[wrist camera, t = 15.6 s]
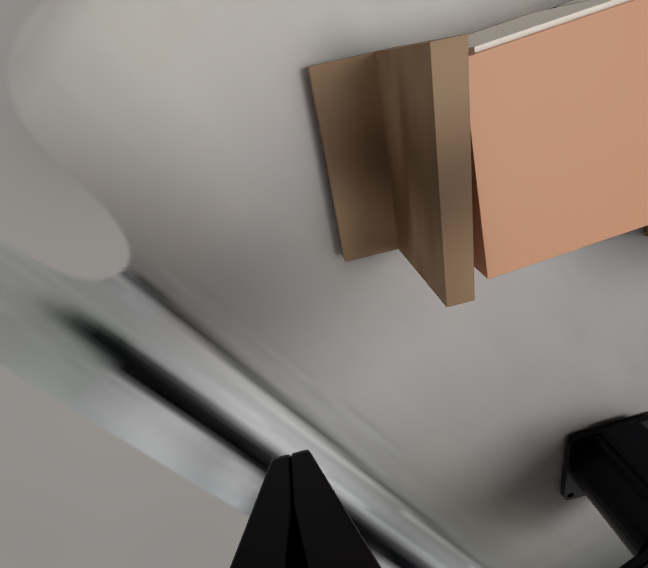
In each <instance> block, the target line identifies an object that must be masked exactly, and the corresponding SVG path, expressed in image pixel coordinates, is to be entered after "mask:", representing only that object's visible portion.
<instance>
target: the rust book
mask: <svg viewBox="0 0 648 568" xmlns="http://www.w3.org/2000/svg"><path fill="white" fill-rule="evenodd" d="M468 56H469V95H470V135H471V175H472V214H473V254H474V267H475V268H476V269H477V270H478V271H480V272H481V273H482V274H483V275H484V276H485V277H486V278H488V279H489V278H492V277H495V276H498V275H501V274H504V273H507V272H510V271H513V270H516V269H519V268H522V267H525V266H528V265H531V264H534V263H537V262H540V261H543V260H546V259H549V258H552V257H555V256H558V255H561V254H564V253H567V252H570V251H573V250H576V249H579V248H581V247H584V246H587V245H590V244H593V243H596V242H599V241H602V240H605V239H608V238H611V237H614V236H617V235H620V234H623V233H626V232H629V231H632V230H635V229H638V228H641V227H644V226H647V225H648V0H590V1H586V2H581V3H576V4H572V5H567V6H562V7H558V8H553V9H548V10H544V11H539V12H534V13H531V14H528V15H525V16H522V17H519V18H516V19H513V20H510V21H507V22H504V23H501V24H498V25H495V26H492V27H489V28H486V29H483V30H480V31H478V32H475V33H472V34H469V35H468Z"/></svg>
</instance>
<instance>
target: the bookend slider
mask: <svg viewBox="0 0 648 568" xmlns="http://www.w3.org/2000/svg"><path fill="white" fill-rule="evenodd" d="M307 69H308V75H309V80H310V85H311V90H312V96H313V101H314V106H315V111H316V117H317V122H318V127H319V132H320V138H321V143H322V148H323V154H324V159H325V164H326V169H327V175H328V180H329V185H330V190H331V196H332V201H333V206H334V211H335V217H336V222H337V227H338V233H339V238H340V243H341V248H342V254H343V257H344V259H345V261H350V260H354V259H358V258H362V257H366V256H370V255H375V254H379V253H383V252H387V251H391V250H395V249H399V250H400V251H401V252H402V254H403V255H404V256H405V257H406V258H407V260H408V261H409V262H410V263H411V264H412V266H413V267H414V268H415V269H416V271H417V272H418V273H419V274H420V275H421V277H422V278H423V279H424V280H425V281H426V283H427V284H428V285H429V286H430V287H431V289H432V290H433V291H434V292H435V294H436V295H437V296H438V297H439V298H440V300H441V301H442V302H443V303H444V304H445V306H446V307H450V306H454V305H458V304H462V303H466V302H470V301H474V300H475V293H474V254H473V214H472V175H471V135H470V95H469V56H468V34H464V35H459V36H453V37H448V38H443V39H437V40H432V41H426V42H421V43H416V44H410V45H405V46H399V47H394V48H390V49H385V50H381V51H376V52H372V53H367V54H363V55H358V56H354V57H349V58H345V59H340V60H336V61H331V62H327V63H322V64H318V65H313V66H309V67H307Z"/></svg>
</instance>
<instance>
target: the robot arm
mask: <svg viewBox="0 0 648 568" xmlns="http://www.w3.org/2000/svg"><path fill="white" fill-rule="evenodd" d="M561 495H562V496H563V497H564V499H565V500H570V499H574V498H578V497H581V496H585V495H586V496H587V497H588V499H589V500H590V501H591V502H592V504H593V505H594V506H595V508H596V509H597V510H598V511H599V513H600V514H601V515H602V516H603V518H604V519H605V520H606V522H607V523H608V524H609V525H610V527H611V528H612V529H613V530H614V532H615V533H616V534H617V536H618V537H619V538H620V539H621V541H622V542H623V543H624V544H625V546H626V547H627V548H628V549H629V551H630V552H631V553H632V555H633V556H634V557H633V558H632V559H630V560H629V561H628V562H626V563H625V564H624V565H622V566H621V567H619V568H648V414H647V415H643V416H640V417H636V418H632V419H629V420H625V421H621V422H617V423H614V424H610V425H606V426H602V427H599V428H595V429H591V430H588V431H584V432H580V433H576V434H573V435H571V436H570V437H569V438H568V439H567V443H566V451H565V459H564V468H563V476H562V484H561ZM230 568H381V567H380V565H379V563H378V562H377V560H376V558H375V557H374V555H373V553H372V552H371V550H370V549H369V547H368V545H367V544H366V542H365V540H364V539H363V537H362V536H361V534H360V532H359V531H358V529H357V527H356V526H355V524H354V523H353V521H352V519H351V518H350V516H349V514H348V513H347V511H346V509H345V508H344V506H343V505H342V503H341V501H340V500H339V498H338V496H337V495H336V493H335V492H334V490H333V488H332V487H331V485H330V483H329V482H328V480H327V478H326V477H325V475H324V474H323V472H322V470H321V469H320V467H319V465H318V464H317V462H316V461H315V459H314V457H313V456H312V454H311V452H310V451H309V450H303V451H299V452H295V453H293V454H292V455H291V456H290V455H284V456H280V457H276V458H274V459H273V460H272V461H271V463H270V466H269V468H268V471H267V474H266V476H265V479H264V481H263V484H262V486H261V489H260V492H259V494H258V497H257V499H256V502H255V505H254V507H253V510H252V512H251V515H250V517H249V520H248V523H247V525H246V528H245V530H244V533H243V536H242V538H241V541H240V543H239V546H238V548H237V551H236V554H235V556H234V559H233V561H232V564H231V566H230Z"/></svg>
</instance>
